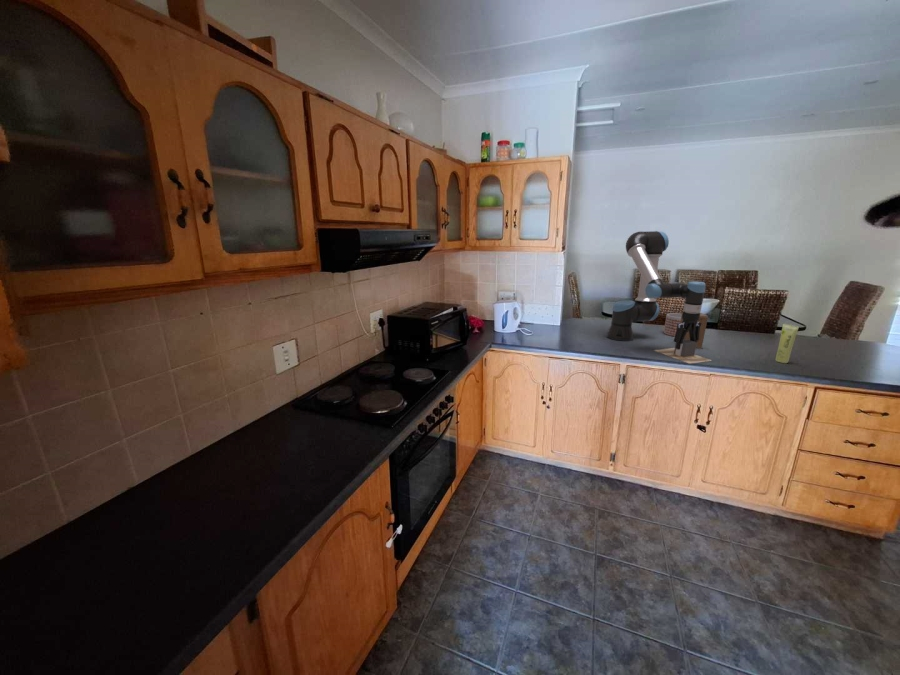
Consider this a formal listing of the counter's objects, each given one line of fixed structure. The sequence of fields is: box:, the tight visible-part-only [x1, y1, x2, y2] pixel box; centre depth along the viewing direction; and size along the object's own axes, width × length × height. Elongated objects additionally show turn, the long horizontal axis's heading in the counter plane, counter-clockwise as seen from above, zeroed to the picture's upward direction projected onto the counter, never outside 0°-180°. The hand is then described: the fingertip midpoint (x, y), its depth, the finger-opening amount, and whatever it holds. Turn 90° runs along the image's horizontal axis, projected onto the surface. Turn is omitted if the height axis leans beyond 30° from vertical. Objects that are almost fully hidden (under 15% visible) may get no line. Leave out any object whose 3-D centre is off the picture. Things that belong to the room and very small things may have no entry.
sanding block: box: [674, 339, 697, 358], centre depth 188 cm, size 6×7×8 cm
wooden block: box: [680, 311, 709, 350], centre depth 203 cm, size 10×10×20 cm
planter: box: [663, 312, 682, 338], centre depth 230 cm, size 14×14×13 cm
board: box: [653, 347, 712, 365], centre depth 190 cm, size 22×15×1 cm
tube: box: [775, 323, 800, 364], centre depth 179 cm, size 6×5×20 cm
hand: (683, 354), depth 189 cm, fingers closed on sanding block, 7 cm apart
